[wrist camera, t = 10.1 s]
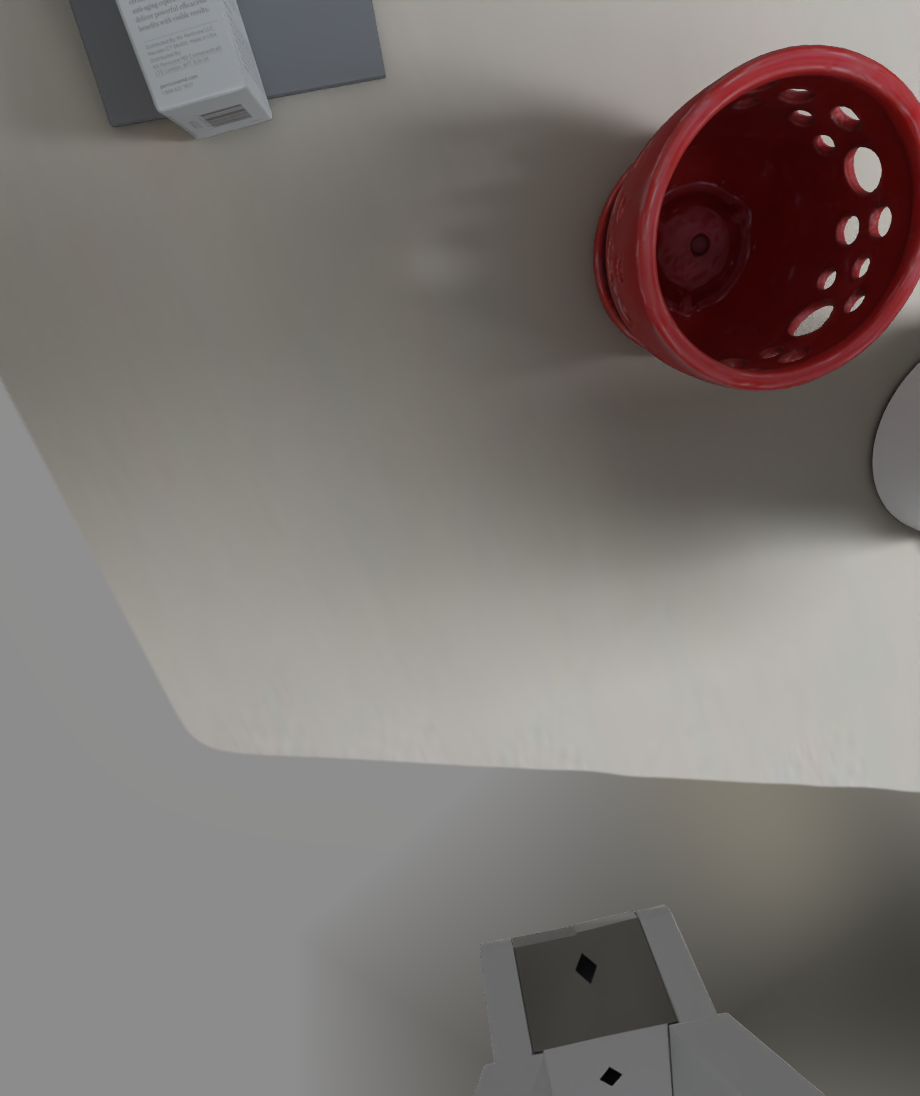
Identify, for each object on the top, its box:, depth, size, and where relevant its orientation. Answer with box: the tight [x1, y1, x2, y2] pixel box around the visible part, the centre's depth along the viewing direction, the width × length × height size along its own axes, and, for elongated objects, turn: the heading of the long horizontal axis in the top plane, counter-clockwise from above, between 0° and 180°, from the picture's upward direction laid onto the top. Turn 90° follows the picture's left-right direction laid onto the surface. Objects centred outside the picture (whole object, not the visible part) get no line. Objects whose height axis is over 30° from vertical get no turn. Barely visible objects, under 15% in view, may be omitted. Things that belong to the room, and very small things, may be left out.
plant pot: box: [593, 45, 920, 391], centre depth 32 cm, size 13×13×12 cm
